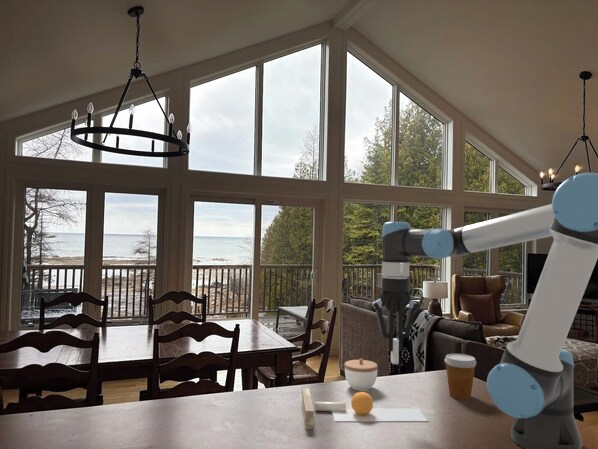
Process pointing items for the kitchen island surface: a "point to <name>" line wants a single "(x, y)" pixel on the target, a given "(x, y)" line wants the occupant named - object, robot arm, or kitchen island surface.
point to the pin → (330, 406)
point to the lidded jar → (361, 374)
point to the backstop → (307, 408)
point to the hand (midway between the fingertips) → (394, 362)
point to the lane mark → (380, 415)
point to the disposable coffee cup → (460, 375)
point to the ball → (362, 403)
